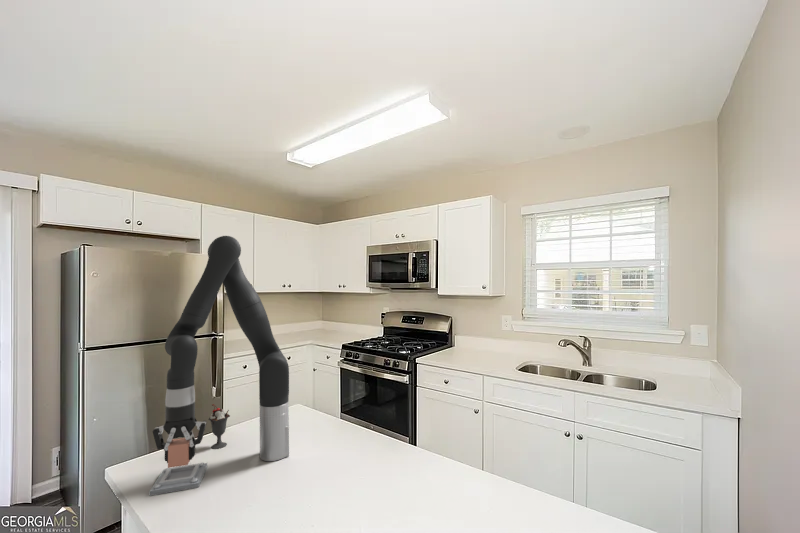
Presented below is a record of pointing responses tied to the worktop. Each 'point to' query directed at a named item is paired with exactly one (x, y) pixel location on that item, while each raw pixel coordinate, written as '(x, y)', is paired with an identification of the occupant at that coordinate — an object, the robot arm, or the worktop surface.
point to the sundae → (218, 426)
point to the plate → (179, 478)
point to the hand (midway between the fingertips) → (180, 459)
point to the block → (178, 453)
